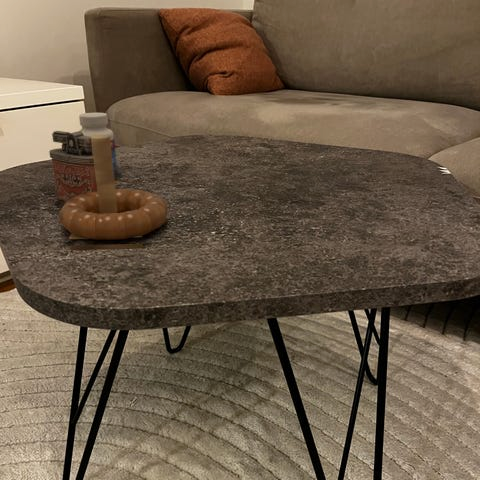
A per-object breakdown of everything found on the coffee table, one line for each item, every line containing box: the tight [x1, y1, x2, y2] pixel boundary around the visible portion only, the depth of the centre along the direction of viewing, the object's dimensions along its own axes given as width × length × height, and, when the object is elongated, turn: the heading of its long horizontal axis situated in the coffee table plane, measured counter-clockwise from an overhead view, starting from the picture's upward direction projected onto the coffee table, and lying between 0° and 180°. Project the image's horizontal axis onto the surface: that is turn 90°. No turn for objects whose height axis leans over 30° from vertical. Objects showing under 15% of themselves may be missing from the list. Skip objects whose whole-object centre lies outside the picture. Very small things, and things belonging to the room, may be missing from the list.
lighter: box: [48, 130, 97, 203], centre depth 76 cm, size 8×3×10 cm, turn 59°
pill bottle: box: [78, 112, 118, 175], centre depth 88 cm, size 6×5×10 cm
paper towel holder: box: [68, 134, 145, 251], centre depth 66 cm, size 8×8×12 cm
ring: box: [58, 188, 169, 241], centre depth 68 cm, size 12×12×3 cm
